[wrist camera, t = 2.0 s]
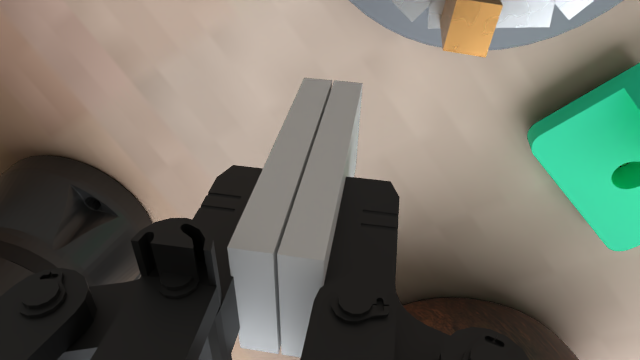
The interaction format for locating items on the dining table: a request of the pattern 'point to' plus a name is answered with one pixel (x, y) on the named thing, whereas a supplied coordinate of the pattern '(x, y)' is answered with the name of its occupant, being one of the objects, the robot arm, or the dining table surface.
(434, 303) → the wooden bowl
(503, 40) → the base plate
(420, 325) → the robot arm
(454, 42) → the ring nut
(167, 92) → the dining table surface
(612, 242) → the camera mount
